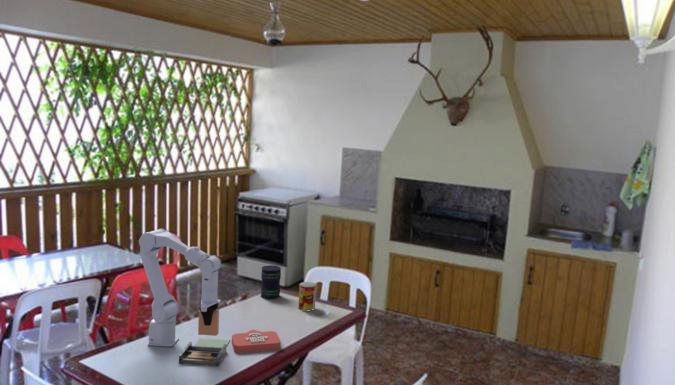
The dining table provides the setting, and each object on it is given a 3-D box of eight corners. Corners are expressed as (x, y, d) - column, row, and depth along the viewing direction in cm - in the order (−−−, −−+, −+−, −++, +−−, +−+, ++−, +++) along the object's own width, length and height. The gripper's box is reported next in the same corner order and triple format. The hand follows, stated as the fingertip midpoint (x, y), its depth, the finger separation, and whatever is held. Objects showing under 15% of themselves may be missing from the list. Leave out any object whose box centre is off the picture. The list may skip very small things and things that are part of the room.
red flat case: (274, 326, 208) (281, 341, 193) (274, 335, 208) (281, 350, 194) (230, 329, 202) (234, 345, 188) (230, 338, 202) (234, 354, 188)
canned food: (297, 305, 245) (298, 281, 243) (313, 305, 246) (314, 281, 245) (299, 311, 237) (300, 286, 236) (315, 311, 238) (317, 286, 237)
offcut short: (190, 360, 181) (190, 354, 181) (192, 357, 183) (192, 352, 183) (209, 361, 181) (209, 355, 181) (211, 358, 183) (211, 353, 183)
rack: (178, 363, 178) (178, 355, 177) (189, 349, 190) (189, 341, 189) (218, 366, 177) (218, 357, 177) (226, 351, 189) (226, 344, 189)
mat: (193, 347, 192) (193, 346, 191) (199, 339, 199) (199, 338, 199) (224, 349, 191) (224, 348, 191) (229, 340, 199) (229, 340, 199)
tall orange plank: (198, 334, 188) (198, 311, 187) (200, 331, 191) (200, 309, 190) (216, 335, 188) (217, 312, 187) (218, 333, 190) (219, 310, 189)
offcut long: (186, 362, 179) (187, 357, 179) (188, 360, 181) (189, 354, 181) (211, 364, 179) (211, 359, 178) (213, 362, 181) (213, 356, 180)
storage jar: (268, 300, 250) (269, 271, 248) (256, 295, 256) (257, 267, 255) (283, 296, 257) (285, 268, 256) (271, 292, 264) (272, 264, 262)
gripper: (214, 295, 180) (213, 331, 181) (225, 283, 194) (224, 317, 196) (195, 294, 180) (194, 330, 182) (207, 282, 195) (206, 316, 196)
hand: (208, 323), depth 189 cm, fingers closed on tall orange plank, 2 cm apart
